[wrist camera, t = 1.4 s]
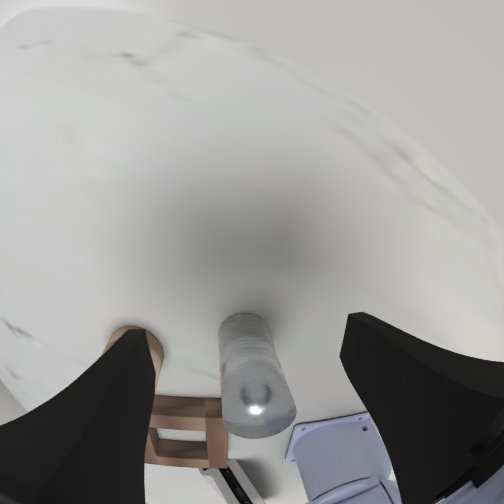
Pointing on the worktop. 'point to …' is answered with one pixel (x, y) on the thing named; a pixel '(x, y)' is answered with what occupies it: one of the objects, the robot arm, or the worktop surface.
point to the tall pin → (252, 380)
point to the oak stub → (154, 347)
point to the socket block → (187, 418)
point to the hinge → (232, 484)
